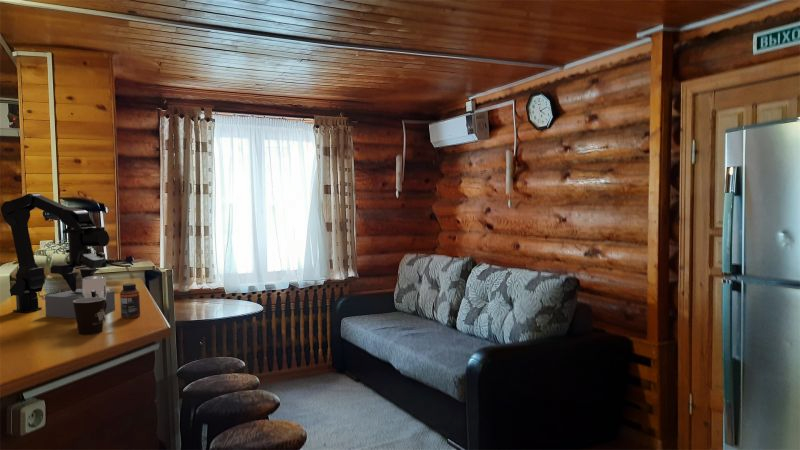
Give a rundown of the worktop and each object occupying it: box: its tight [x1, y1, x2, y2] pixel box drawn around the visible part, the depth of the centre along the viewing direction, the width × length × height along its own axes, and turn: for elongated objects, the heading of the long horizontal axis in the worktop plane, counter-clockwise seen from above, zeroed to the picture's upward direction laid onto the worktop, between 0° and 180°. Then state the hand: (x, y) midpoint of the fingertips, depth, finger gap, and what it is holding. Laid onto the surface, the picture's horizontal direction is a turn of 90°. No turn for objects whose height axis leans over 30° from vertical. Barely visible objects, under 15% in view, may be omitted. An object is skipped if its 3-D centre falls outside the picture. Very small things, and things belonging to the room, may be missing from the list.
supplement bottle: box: [119, 282, 141, 320], centre depth 195 cm, size 6×6×11 cm
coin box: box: [44, 288, 116, 319], centre depth 201 cm, size 16×14×7 cm
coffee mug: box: [73, 297, 107, 336], centre depth 176 cm, size 12×9×10 cm
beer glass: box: [81, 275, 107, 324], centre depth 186 cm, size 7×7×15 cm
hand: (80, 290), depth 200 cm, fingers open, 5 cm apart
